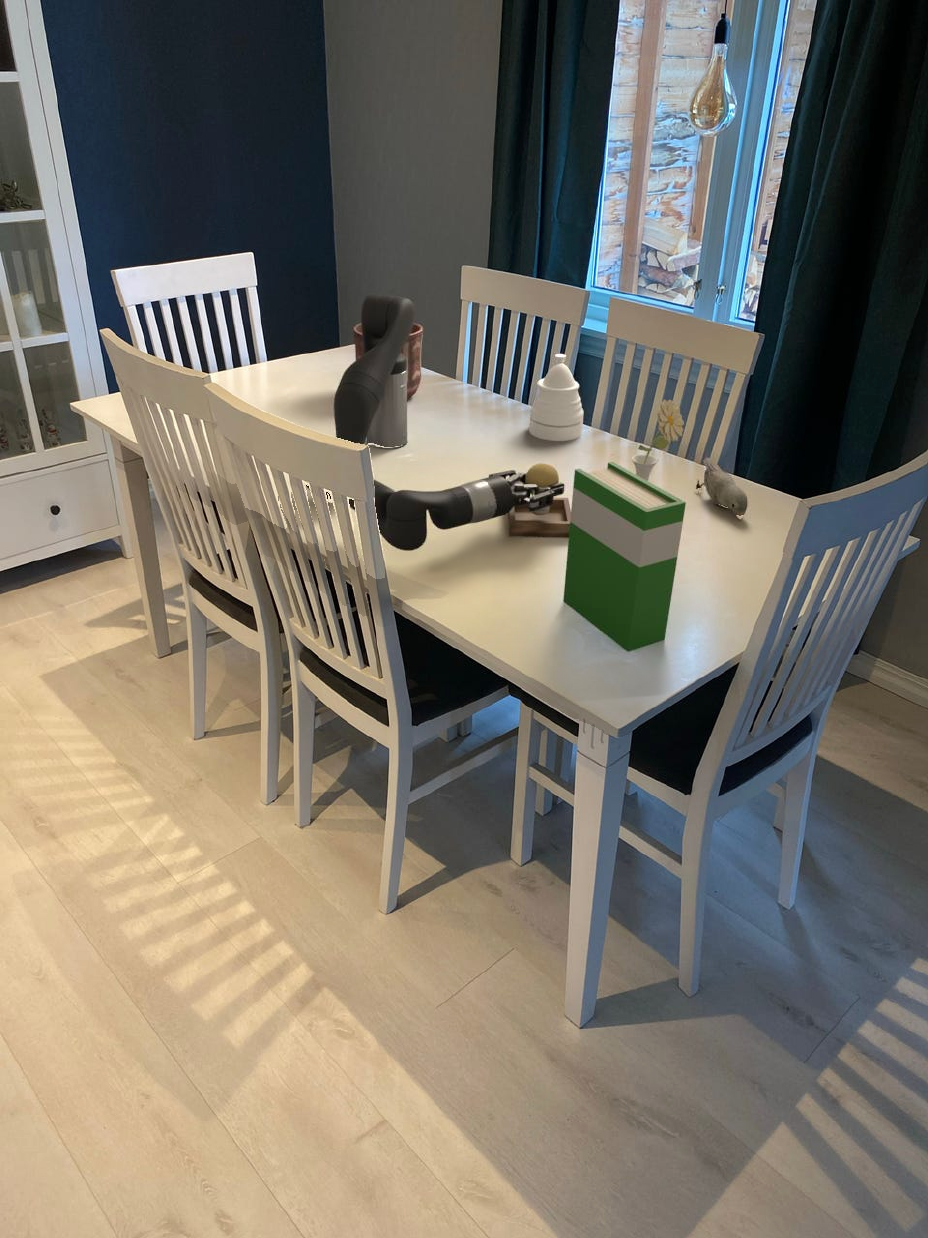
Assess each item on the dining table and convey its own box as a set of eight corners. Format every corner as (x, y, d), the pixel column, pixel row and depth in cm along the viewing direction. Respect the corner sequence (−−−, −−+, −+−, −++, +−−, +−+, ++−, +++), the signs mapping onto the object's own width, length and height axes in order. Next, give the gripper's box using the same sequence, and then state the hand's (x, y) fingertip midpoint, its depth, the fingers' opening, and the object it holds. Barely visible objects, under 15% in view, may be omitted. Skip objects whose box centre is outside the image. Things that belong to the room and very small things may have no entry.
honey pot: (528, 421, 240) (532, 349, 231) (580, 423, 240) (586, 350, 231) (529, 440, 229) (534, 364, 220) (583, 442, 229) (590, 366, 220)
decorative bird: (729, 523, 193) (735, 488, 189) (690, 491, 206) (695, 458, 202) (752, 520, 194) (759, 485, 190) (712, 488, 207) (717, 455, 203)
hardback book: (563, 601, 164) (574, 469, 152) (598, 591, 167) (612, 461, 155) (627, 651, 151) (646, 512, 139) (664, 640, 154) (685, 502, 142)
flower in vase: (629, 542, 184) (645, 415, 171) (596, 518, 193) (608, 396, 180) (684, 529, 189) (703, 406, 176) (649, 507, 198) (665, 387, 185)
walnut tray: (509, 536, 185) (510, 522, 183) (507, 509, 195) (508, 496, 194) (572, 538, 185) (573, 523, 183) (567, 511, 195) (568, 497, 194)
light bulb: (560, 510, 190) (564, 462, 185) (548, 522, 185) (553, 473, 180) (530, 503, 192) (533, 456, 187) (518, 515, 187) (521, 467, 182)
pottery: (420, 408, 246) (421, 337, 237) (352, 406, 246) (349, 335, 237) (424, 387, 261) (424, 319, 252) (359, 385, 261) (357, 317, 252)
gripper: (458, 504, 185) (526, 486, 194) (504, 533, 175) (574, 512, 184) (460, 468, 181) (529, 451, 190) (506, 494, 171) (577, 475, 180)
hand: (551, 481), depth 187 cm, fingers closed on light bulb, 6 cm apart
